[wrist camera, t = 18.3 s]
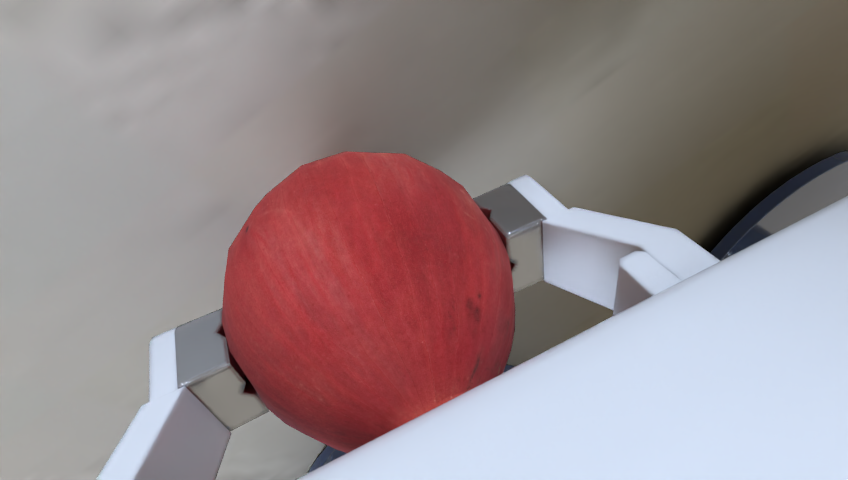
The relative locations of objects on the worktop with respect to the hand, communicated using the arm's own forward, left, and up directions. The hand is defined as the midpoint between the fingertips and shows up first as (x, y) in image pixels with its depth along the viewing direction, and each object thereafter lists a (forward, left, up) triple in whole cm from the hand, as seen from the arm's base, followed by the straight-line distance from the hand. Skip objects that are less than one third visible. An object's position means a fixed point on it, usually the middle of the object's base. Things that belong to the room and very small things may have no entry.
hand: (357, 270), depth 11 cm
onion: (0, 0, -3) cm, 3 cm away
